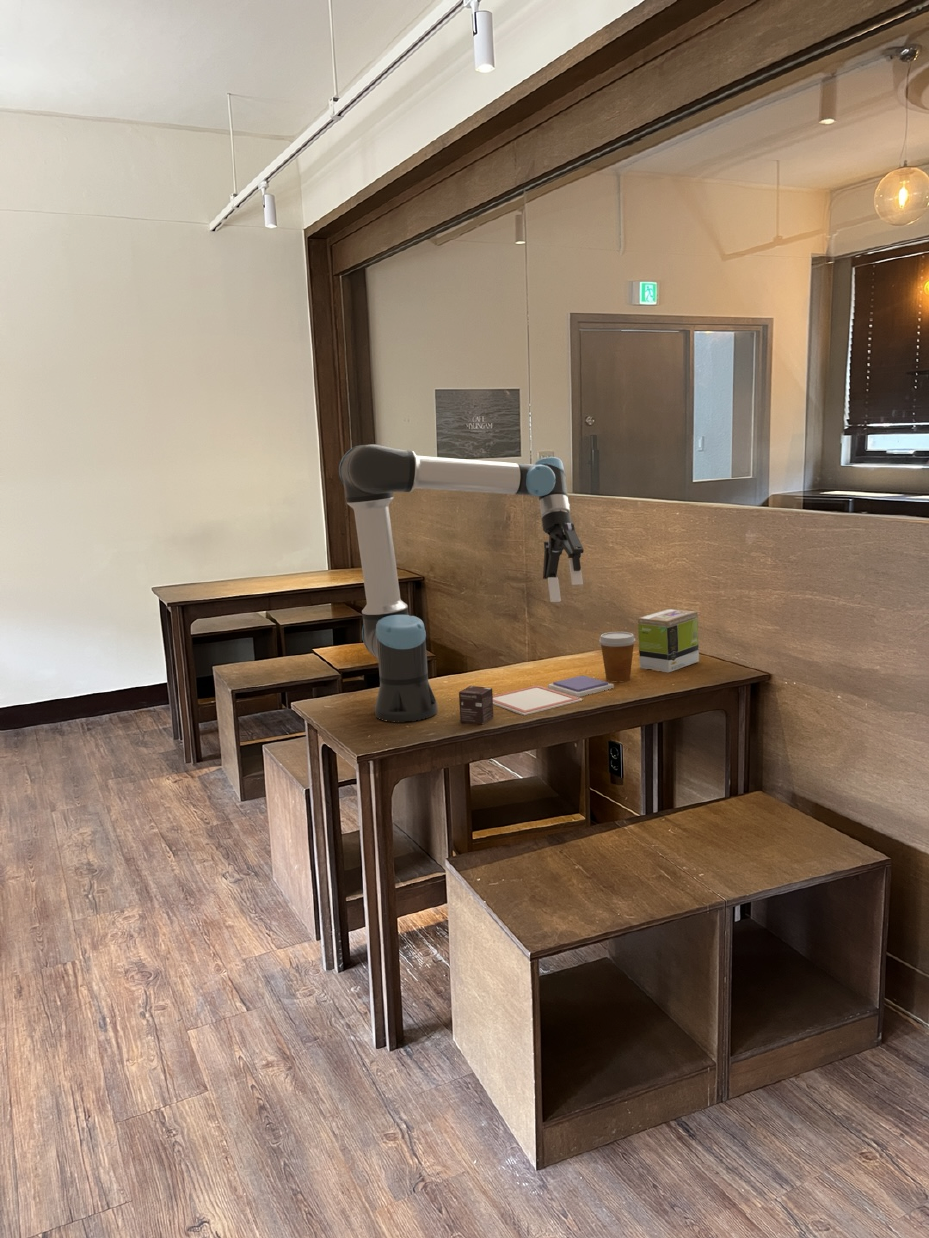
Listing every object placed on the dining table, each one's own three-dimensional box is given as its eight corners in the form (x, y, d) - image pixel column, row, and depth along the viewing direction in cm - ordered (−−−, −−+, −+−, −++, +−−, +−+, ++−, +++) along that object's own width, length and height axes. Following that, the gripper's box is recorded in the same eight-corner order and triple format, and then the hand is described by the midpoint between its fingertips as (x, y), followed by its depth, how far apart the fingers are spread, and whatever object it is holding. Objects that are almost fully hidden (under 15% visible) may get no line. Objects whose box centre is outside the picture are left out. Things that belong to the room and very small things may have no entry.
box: (459, 722, 205) (457, 692, 204) (471, 715, 210) (469, 685, 209) (482, 724, 202) (481, 694, 201) (494, 717, 207) (492, 687, 206)
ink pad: (577, 697, 220) (577, 691, 220) (548, 688, 230) (547, 682, 230) (613, 688, 226) (613, 682, 226) (583, 679, 236) (583, 673, 236)
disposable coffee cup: (620, 685, 228) (619, 640, 226) (592, 680, 235) (591, 636, 233) (643, 678, 234) (642, 634, 232) (615, 672, 241) (614, 630, 239)
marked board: (524, 715, 207) (523, 713, 207) (481, 700, 222) (481, 697, 222) (582, 700, 217) (582, 698, 217) (538, 686, 232) (537, 684, 232)
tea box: (669, 658, 255) (669, 607, 252) (699, 662, 247) (699, 611, 245) (638, 668, 245) (637, 616, 242) (668, 673, 238) (667, 620, 235)
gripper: (589, 496, 218) (601, 576, 212) (550, 534, 241) (560, 608, 235) (561, 494, 216) (573, 576, 210) (525, 533, 238) (534, 608, 232)
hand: (566, 593), depth 222 cm, fingers open, 13 cm apart
